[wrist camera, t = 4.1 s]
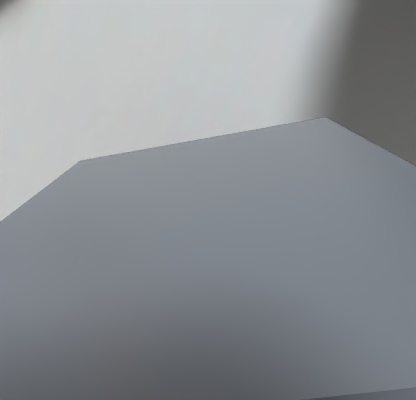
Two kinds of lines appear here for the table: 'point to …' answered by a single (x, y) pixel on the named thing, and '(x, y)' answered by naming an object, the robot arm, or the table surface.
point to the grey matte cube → (216, 273)
